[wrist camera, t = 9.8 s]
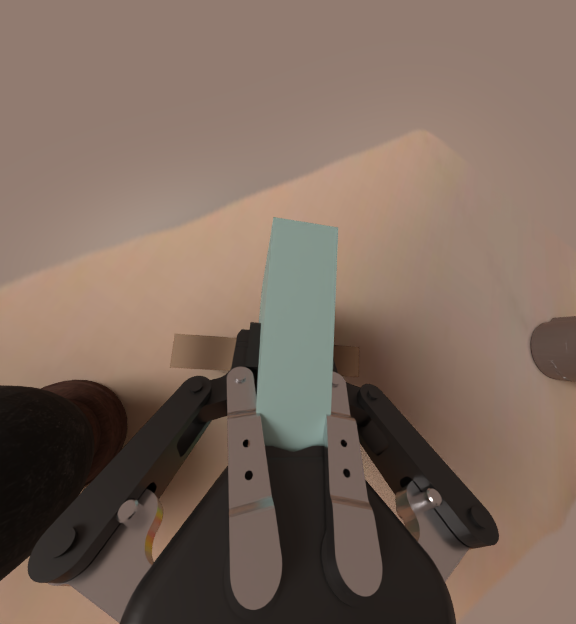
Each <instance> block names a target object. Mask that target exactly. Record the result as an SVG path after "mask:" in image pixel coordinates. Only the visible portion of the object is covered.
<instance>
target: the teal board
mask: <svg viewBox="0 0 576 624" xmlns="http://www.w3.org/2000/svg"><path fill="white" fill-rule="evenodd" d="M337 245H338V227H331V226H325V225H319V224H313V223H307V222H301V221H294V220H288V219H282V218H276V217H274V218H273V224H272V230H271V236H270V242H269V248H268V255H267V261H266V267H265V273H264V279H263V286H262V294H261V305H260V316H259V323H261V333H260V350H259V366H258V375H257V382H256V390H255V392H256V400H257V401H256V413H260V416H261V422H262V430H263V437H264V444H265V446H275V447H278V448H281V449H285V450H288V451H292V452H295V451H298V450H301V449H304V448H307V447H310V446H324V440H323V432H324V425H325V419H326V414H329V415H331V399H332V373H333V347H334V322H335V296H336V271H337Z"/></svg>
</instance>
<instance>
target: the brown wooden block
mask: <svg viewBox="0 0 576 624" xmlns="http://www.w3.org/2000/svg"><path fill="white" fill-rule="evenodd" d="M236 339H237V338H227V337H213V336H199V335H185V334H175V336H174V342H173V349H172V356H171V363H170V368H189V369H210V370H230V369H231V366H232V361H233V355H234V350H235V345H236ZM333 358H334V362H335V365H336V368H337V372H338V374H340V375H341V376H351V377H359V347H351V346H338V345H334V347H333Z"/></svg>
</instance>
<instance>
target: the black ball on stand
mask: <svg viewBox="0 0 576 624" xmlns="http://www.w3.org/2000/svg"><path fill="white" fill-rule="evenodd" d="M126 432H127V417H126V413H125V409H124V407H123V405H122V403H121V401H120V400H119V398H118V397H117V396H116V395H115V394H114V393H113V392H112V391H111V390H109V389H108V388H107V387H105V386H103V385H101V384H99V383H96V382H92V381H87V380H70V381H63V382H58V383H55V384H52V385H49V386H45V387H43V388H41V389H38V388H34V387H23V386H0V581H1V580H2V579H3V578H4V577H6V576H7V575H8V574H9V573H10V572H11V571H13V570H14V569H15V568H16V567H17V566H19V565H20V564H21V563H22V562H23V561H24V560H25V559H27V558H28V557H29V556H30V555H31V553H32V551H33V549H34V547H35V545H36V543H37V542H38V540H39V539H40V538H41V536H42V535H43V534H44V533H45V531H46V530H47V529H48V528H49V527H50V526H51V525H52V524H53V523H54V522H55V521H56V520H57V518H58V517H59V516H60V515H61V514H62V513H63V512H64V511H65V510H66V509H67V508H68V507H69V506H70V505H71V503H72V502H73V501H74V500H75V499H76V498H77V497H78V495H79V494H80V492H81V491H82V489H83V487H84V486H86V485H87V484H89V483H91V482H92V481H93V480H94V479H95V478H96V477H97V476H98V474H99V473H100V472H101V471H102V470H103V469H104V468H105V467H106V466H107V465H108V464H109V463H110V462H111V460H112V459H113V458H114V457H115V456H116V455H117V454H118V453H119V452H120V451H121V449H122V446H123V444H124V441H125V438H126Z"/></svg>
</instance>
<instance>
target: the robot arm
mask: <svg viewBox="0 0 576 624" xmlns="http://www.w3.org/2000/svg"><path fill="white" fill-rule="evenodd" d="M260 333H261V323H254V322H251V323H250V330H243V329H242V330H241V331H240V332H239V333H238V335H237V339H236V345H235V350H234V355H233V361H232V366H231V369H230V371H229V372H228V373H227V374H226V375H225V376H223V377H221V378H217V379H213V380H209V379H208V378H206V377H204V376H194V377H191V378H189V379H188V380H186V381H185V382H184V383H183V384H182V385H181V386H180V387H179V389H178V390H177V391H176V392H175V393H174V394H173V395H172V396H171V397H170V398H169V399H168V400H167V401H166V403H165V404H164V405H163V406H162V407H161V408H160V409H159V410H158V411H157V412H156V413H155V414H154V415H153V416H152V418H151V419H150V420H149V421H148V422H147V423H146V424H145V425H144V426H143V427H142V428H141V429H140V430H139V432H138V433H137V434H136V435H135V436H134V437H133V438H132V439H131V440H130V441H129V442H128V443H127V444H126V445H125V447H124V448H123V449H122V450H121V451H120V452H119V453H118V454H117V455H116V456H115V457H114V458H113V459H112V460H111V462H110V463H109V464H108V465H107V466H106V467H105V468H104V469H103V470H102V471H101V472H100V473H99V474H98V476H97V477H96V478H95V479H94V480H93V481H92V482H91V483H90V484H89V485H88V486H87V487H86V488H85V489H84V491H83V492H82V493H81V494H80V495H79V496H78V497H77V498H76V499H75V500H74V501H73V502H72V503H71V505H70V506H69V507H68V508H67V509H66V510H65V511H64V512H63V513H62V514H61V515H60V516H59V517H58V518H57V520H56V521H55V522H54V523H53V524H52V525H51V526H50V527H49V528H48V529H47V530H46V531H45V533H44V534H43V535H42V536H41V538H40V539H39V540H38V542H37V543H36V545H35V547H34V549H33V551H32V553H31V555H30V558H29V562H28V574H29V576H30V578H31V579H32V580H33V581H35V582H39V583H48V584H50V585H54V586H72V587H73V588H74V589H76V590H77V591H78V592H79V593H81V594H82V595H83V596H85V597H86V598H87V599H89V600H90V601H91V602H93V603H94V604H95V605H96V606H98V607H99V608H100V609H102V610H103V611H104V612H106V613H107V614H108V615H109V616H111V617H112V618H113V619H115V620H116V621H117V622H119V623H120V624H456V619H455V613H454V608H453V604H452V601H451V597H450V594H449V591H448V589H447V586H446V584H445V581H446V580H447V579H448V577H449V576H450V574H451V573H452V572H453V570H454V569H455V567H456V566H457V565H458V563H459V562H460V560H461V559H462V558H463V556H464V555H465V554H466V552H467V551H468V550H469V549H474V548H480V547H485V546H491V545H495V544H496V543H497V542H498V539H499V534H498V529H497V526H496V523H495V521H494V519H493V518H492V516H491V515H490V513H489V512H488V510H487V509H486V508H485V507H484V506H483V505H482V504H481V502H480V501H479V500H478V499H477V498H476V497H475V496H474V495H473V493H472V492H471V491H470V490H469V489H468V488H467V487H466V486H465V484H464V483H463V482H462V481H461V480H460V479H459V478H458V477H457V475H456V474H455V473H454V472H453V471H452V470H451V469H450V468H449V466H448V465H447V464H446V463H445V462H444V461H443V460H442V459H441V458H440V456H439V455H438V454H437V453H436V452H435V451H434V450H433V449H432V447H431V446H430V445H429V444H428V443H427V442H426V441H425V440H424V438H423V437H422V436H421V435H420V434H419V433H418V432H417V431H416V429H415V428H414V427H413V426H412V425H411V424H410V423H409V422H408V420H407V419H406V418H405V417H404V416H403V415H402V414H401V413H400V411H399V410H398V409H397V408H396V407H395V406H394V405H393V404H392V403H391V401H390V400H389V399H388V398H387V397H386V396H385V395H384V394H383V392H382V391H381V390H380V389H379V388H377V387H376V386H374V385H371V384H365V385H363V386H362V387H361V388H360V387H357V386H354V385H351V384H349V383H347V382H345V380H344V378H343V377H342V376H341V375H340V374H338V372H337V368H336V365H335V362H334V358H333V373H332V399H331V415H329V414H326V419H325V425H324V432H323V440H324V446H310V447H307V448H304V449H301V450H298V451H295V452H292V451H288V450H285V449H281V448H278V447H275V446H265V444H264V437H263V430H262V422H261V416H260V413H256V401H257V400H256V392H255V390H256V382H257V375H258V366H259V350H260ZM531 351H532V355H533V358H534V361H535V363H536V365H537V366H538V368H539V369H540V370H541V371H542V372H543V373H544V374H545V375H547V376H548V377H550V378H553V379H559V380H566V381H574V382H576V316H573V317H559V318H553V319H552V320H551V321H550V322H546V323H543V324H541V325H539V326H538V327H537V328H536V330H535V331H534V333H533V336H532V340H531ZM224 416H227V427H228V466H227V467H226V468H225V470H224V471H223V472H222V474H221V475H220V476H219V478H218V479H217V480H216V481H215V483H214V484H213V485H212V487H211V488H210V489H209V491H208V492H207V493H206V495H205V496H204V497H203V499H202V500H201V501H200V503H199V504H198V505H197V506H196V508H195V509H194V510H193V512H192V513H191V514H190V516H189V517H188V518H187V520H186V521H185V522H184V524H183V525H182V526H181V528H180V529H179V530H178V532H177V533H176V534H175V535H174V537H173V538H172V539H171V541H170V542H169V543H168V545H167V546H166V547H165V549H164V550H163V551H162V553H161V554H160V555H159V557H158V558H157V559H156V561H155V562H154V561H153V558H152V544H153V540H154V537H155V534H156V532H157V530H158V528H159V526H160V524H161V521H162V517H163V507H162V504H161V502H160V501H159V498H160V496H161V495H162V493H163V492H164V490H165V489H166V487H167V486H168V484H169V483H170V481H171V480H172V478H173V477H174V475H175V474H176V473H177V471H178V470H179V468H180V467H181V465H182V464H183V462H184V461H185V459H186V458H187V456H188V455H189V453H190V452H191V450H192V449H193V447H194V446H195V444H196V443H197V441H198V440H199V438H200V437H201V435H202V434H203V433H204V431H205V430H206V428H207V427H208V425H209V424H210V422H211V421H212V420H214V419H218V418H221V417H224ZM359 442H360V443H359ZM360 444H361V445H362V447H363V448H364V450H365V451H366V453H367V454H368V455H369V457H370V458H371V460H372V461H373V463H374V464H375V466H376V467H377V469H378V470H379V472H380V473H381V475H382V476H383V478H384V479H385V481H386V482H387V484H388V485H389V487H390V488H391V489H392V491H393V492H394V494H395V495H396V496H395V502H396V511H397V514H398V515H399V517H400V518H401V519H403V522H404V524H405V526H404V525H403V524H402V522H401V521H400V520H399V519H398V518H397V516H396V515H395V514H394V513H393V512H392V511H391V509H390V508H389V507H388V506H387V505H386V503H385V502H384V501H383V500H382V499H381V498H380V496H379V495H378V494H377V493H376V492H375V490H374V489H373V488H372V487H371V486H370V485H369V483H368V482H367V481H366V480H365V476H364V470H363V463H362V457H361V450H360Z"/></svg>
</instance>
